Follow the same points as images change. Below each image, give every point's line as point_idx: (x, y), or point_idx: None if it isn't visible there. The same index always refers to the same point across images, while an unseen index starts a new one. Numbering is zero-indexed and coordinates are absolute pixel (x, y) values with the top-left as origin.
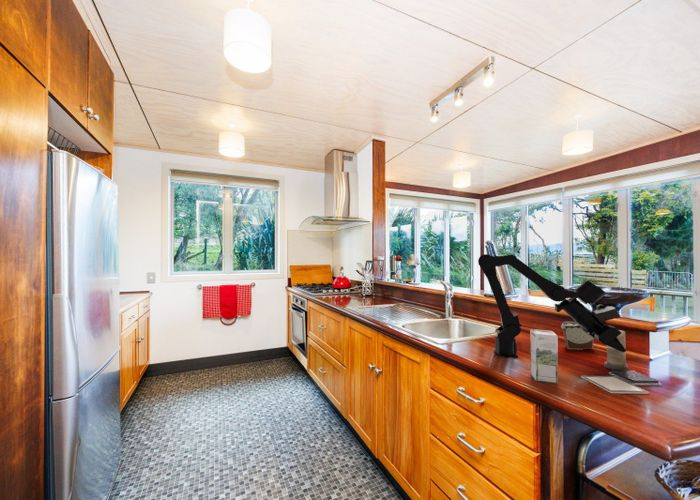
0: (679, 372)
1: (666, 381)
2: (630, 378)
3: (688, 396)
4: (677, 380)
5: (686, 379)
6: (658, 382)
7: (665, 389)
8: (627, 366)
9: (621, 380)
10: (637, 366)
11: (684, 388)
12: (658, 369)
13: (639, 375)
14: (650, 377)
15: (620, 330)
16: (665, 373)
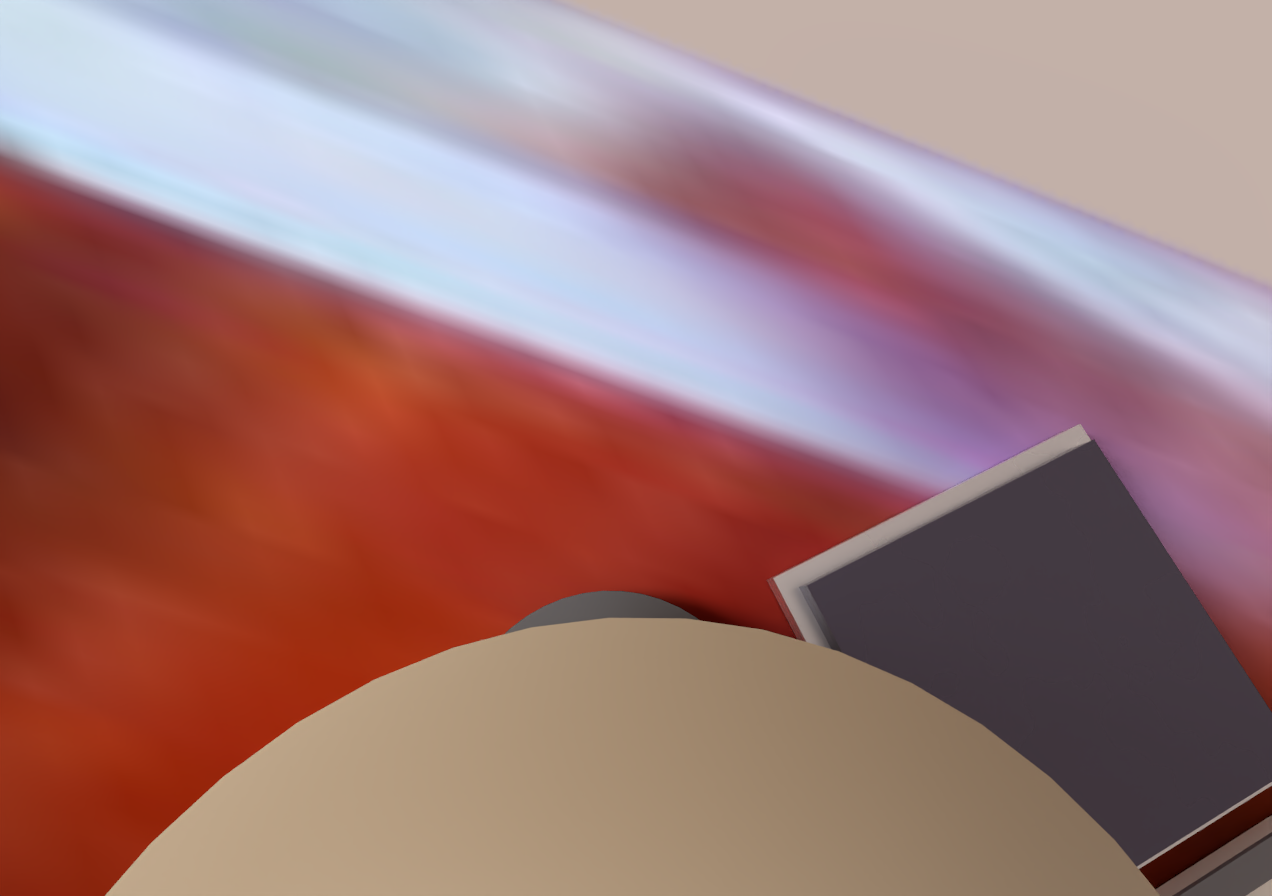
0: (411, 45)
1: (859, 316)
2: (1232, 772)
3: (1259, 317)
4: (750, 191)
5: (660, 93)
6: (1076, 445)
7: (1177, 444)
8: (613, 602)
9: (1255, 887)
10: (351, 403)
11: (1009, 244)
12: (384, 206)
13: (1006, 593)
14: (1010, 483)
15: (283, 813)
16: (528, 199)
